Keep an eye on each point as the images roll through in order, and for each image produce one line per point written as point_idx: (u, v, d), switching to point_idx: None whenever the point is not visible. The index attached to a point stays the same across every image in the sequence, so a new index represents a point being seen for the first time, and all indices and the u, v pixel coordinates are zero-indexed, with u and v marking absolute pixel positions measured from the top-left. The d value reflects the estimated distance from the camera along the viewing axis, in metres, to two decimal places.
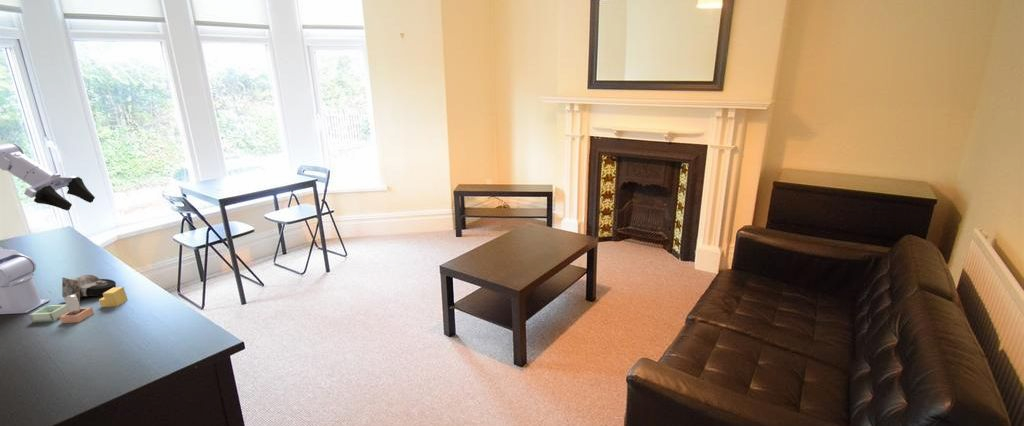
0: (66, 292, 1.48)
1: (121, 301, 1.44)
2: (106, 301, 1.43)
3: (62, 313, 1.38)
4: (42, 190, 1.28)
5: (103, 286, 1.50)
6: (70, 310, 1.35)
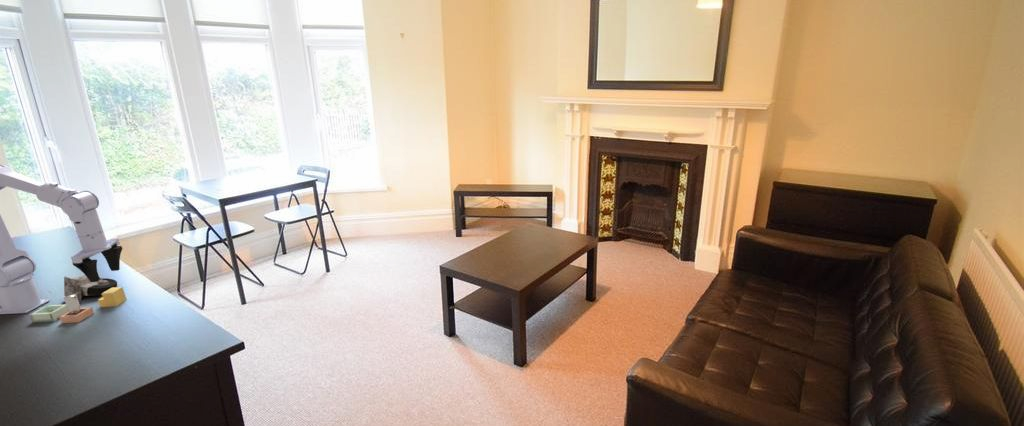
0: (68, 291, 1.48)
1: (120, 301, 1.44)
2: (105, 301, 1.43)
3: (62, 313, 1.38)
4: (88, 263, 1.34)
5: (104, 286, 1.51)
6: (70, 310, 1.35)
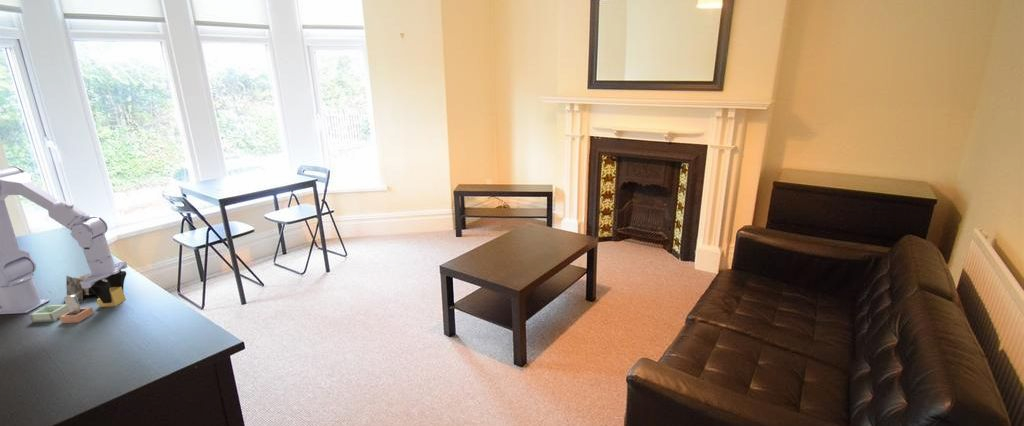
0: (70, 290, 1.49)
1: (119, 300, 1.44)
2: None
3: (62, 313, 1.38)
4: (101, 286, 1.38)
5: None
6: (70, 310, 1.35)
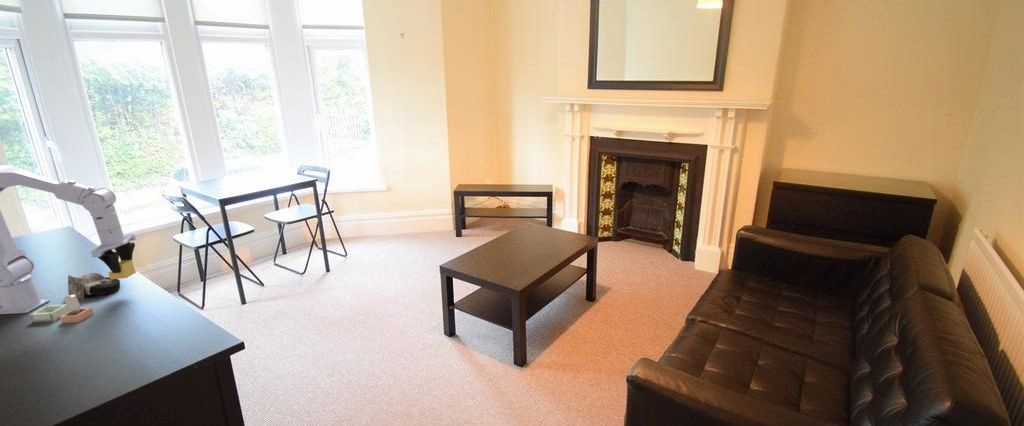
0: (71, 290, 1.49)
1: (129, 273, 1.48)
2: (115, 273, 1.47)
3: (62, 313, 1.38)
4: (110, 255, 1.42)
5: (107, 285, 1.51)
6: (70, 310, 1.35)
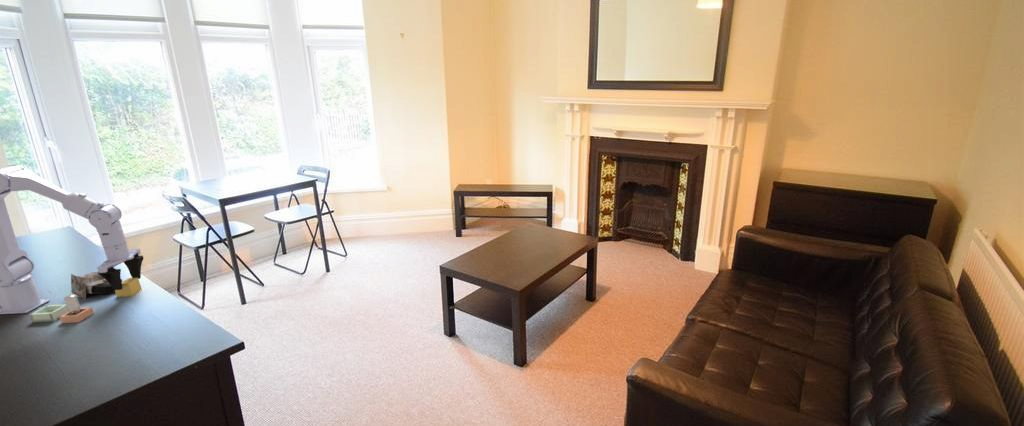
0: (74, 288, 1.50)
1: (136, 291, 1.51)
2: (122, 291, 1.49)
3: (62, 313, 1.38)
4: (112, 273, 1.42)
5: (108, 284, 1.51)
6: (70, 310, 1.35)
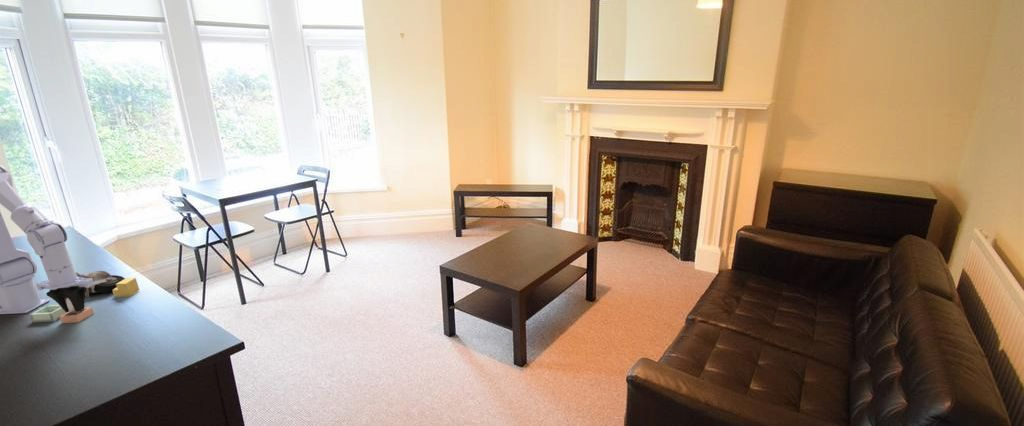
0: None
1: (133, 291, 1.51)
2: (119, 292, 1.49)
3: (62, 313, 1.38)
4: None
5: (111, 283, 1.52)
6: (70, 310, 1.35)
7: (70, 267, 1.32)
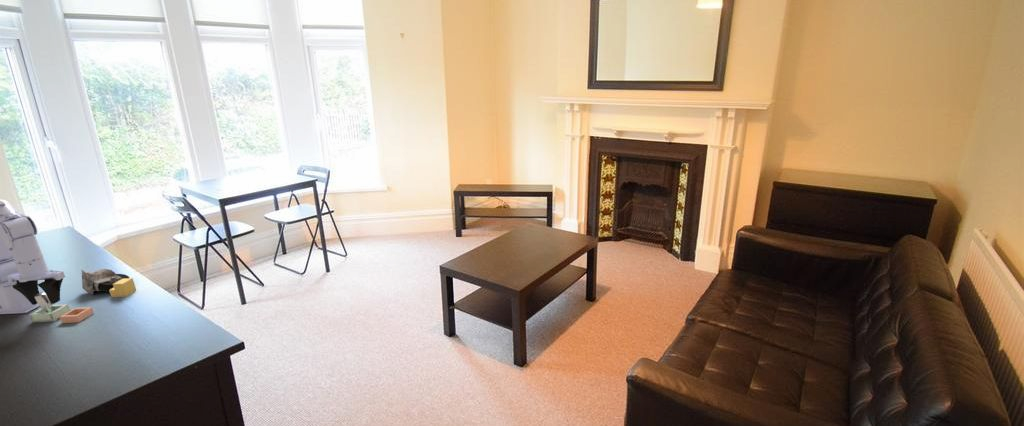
0: (84, 284, 1.52)
1: (130, 291, 1.51)
2: (116, 292, 1.49)
3: (62, 313, 1.38)
4: None
5: (115, 282, 1.53)
6: (42, 308, 1.36)
7: (41, 260, 1.33)
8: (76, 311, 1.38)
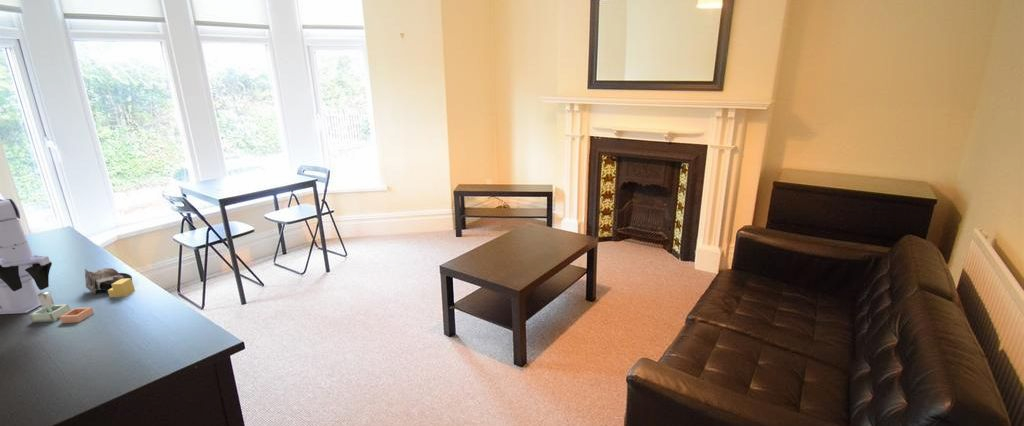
0: (87, 283, 1.53)
1: (129, 291, 1.51)
2: (115, 292, 1.49)
3: (62, 313, 1.38)
4: None
5: None
6: (43, 307, 1.36)
7: (25, 244, 1.29)
8: (76, 311, 1.38)
